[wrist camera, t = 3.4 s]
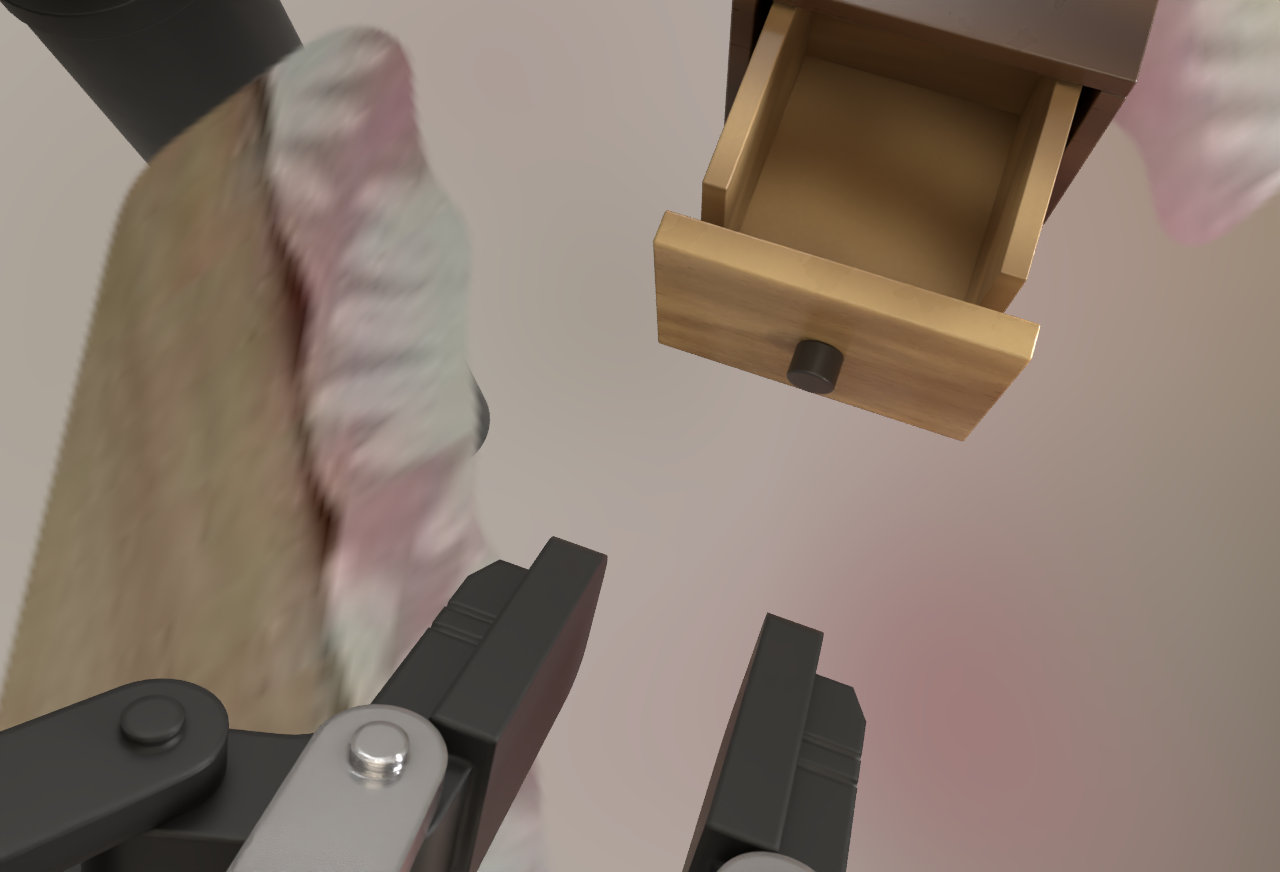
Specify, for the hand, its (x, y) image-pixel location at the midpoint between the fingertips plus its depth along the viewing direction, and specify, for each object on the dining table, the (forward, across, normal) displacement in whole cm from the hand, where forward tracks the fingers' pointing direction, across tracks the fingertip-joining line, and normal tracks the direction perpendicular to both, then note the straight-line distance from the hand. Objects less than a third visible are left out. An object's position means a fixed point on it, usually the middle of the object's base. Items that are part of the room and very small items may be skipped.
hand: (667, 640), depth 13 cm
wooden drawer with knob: (+29, 0, +3) cm, 30 cm away
